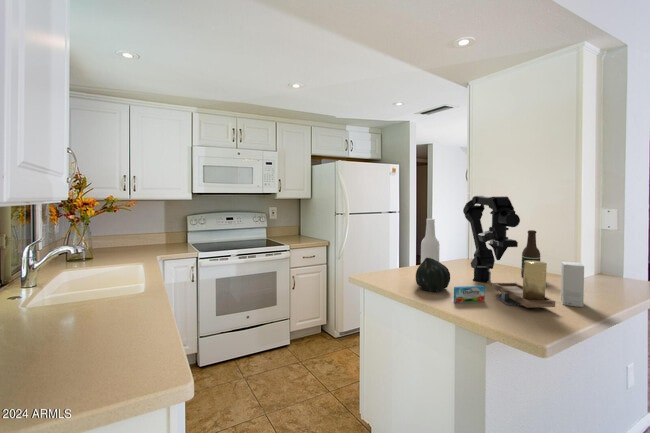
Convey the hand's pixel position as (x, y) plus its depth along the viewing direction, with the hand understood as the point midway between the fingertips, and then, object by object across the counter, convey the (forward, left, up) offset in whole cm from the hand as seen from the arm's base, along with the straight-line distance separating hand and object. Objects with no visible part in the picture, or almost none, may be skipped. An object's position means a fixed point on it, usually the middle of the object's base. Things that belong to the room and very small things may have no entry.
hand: (498, 260), depth 143 cm
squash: (-22, -19, -13) cm, 32 cm away
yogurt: (-4, -26, -13) cm, 29 cm away
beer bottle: (+7, +30, -13) cm, 34 cm away
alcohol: (-31, -2, -13) cm, 33 cm away
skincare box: (+26, -2, -13) cm, 30 cm away
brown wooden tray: (+12, -12, -10) cm, 20 cm away
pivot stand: (+12, -12, -13) cm, 21 cm away
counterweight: (+16, -17, -10) cm, 26 cm away
